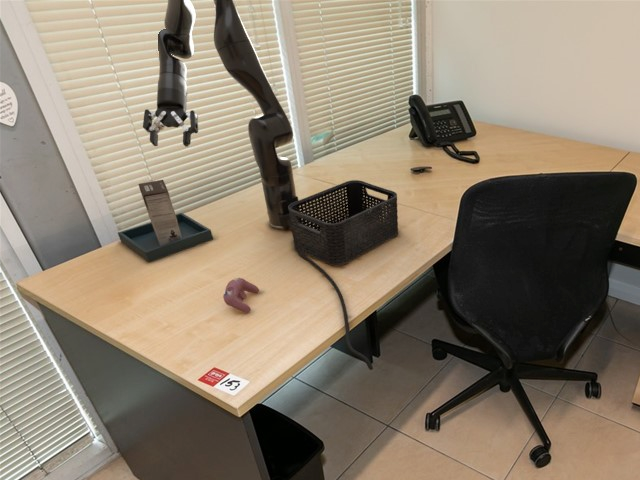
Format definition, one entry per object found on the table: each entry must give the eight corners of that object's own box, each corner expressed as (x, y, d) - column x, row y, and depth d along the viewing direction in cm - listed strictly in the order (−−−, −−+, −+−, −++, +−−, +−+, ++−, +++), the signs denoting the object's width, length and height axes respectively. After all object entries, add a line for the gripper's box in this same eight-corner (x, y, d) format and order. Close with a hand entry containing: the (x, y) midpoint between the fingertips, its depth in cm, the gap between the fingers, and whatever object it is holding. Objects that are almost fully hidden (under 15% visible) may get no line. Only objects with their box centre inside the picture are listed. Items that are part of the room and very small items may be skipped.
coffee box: (155, 234, 152) (137, 182, 143) (178, 230, 155) (162, 178, 146) (160, 248, 146) (142, 195, 137) (185, 242, 149) (168, 190, 140)
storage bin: (357, 215, 170) (354, 176, 163) (403, 233, 162) (402, 192, 155) (289, 249, 151) (282, 206, 143) (337, 270, 143) (332, 226, 135)
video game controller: (246, 296, 133) (228, 276, 129) (261, 289, 132) (243, 268, 128) (236, 319, 125) (216, 298, 121) (251, 312, 124) (232, 291, 120)
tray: (213, 239, 153) (210, 229, 151) (149, 262, 141) (145, 252, 139) (184, 221, 161) (181, 212, 159) (121, 242, 149) (117, 232, 147)
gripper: (140, 85, 148) (137, 138, 146) (192, 87, 150) (190, 139, 147) (152, 100, 155) (150, 150, 153) (202, 101, 157) (201, 151, 155)
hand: (170, 145), depth 150 cm, fingers open, 8 cm apart
